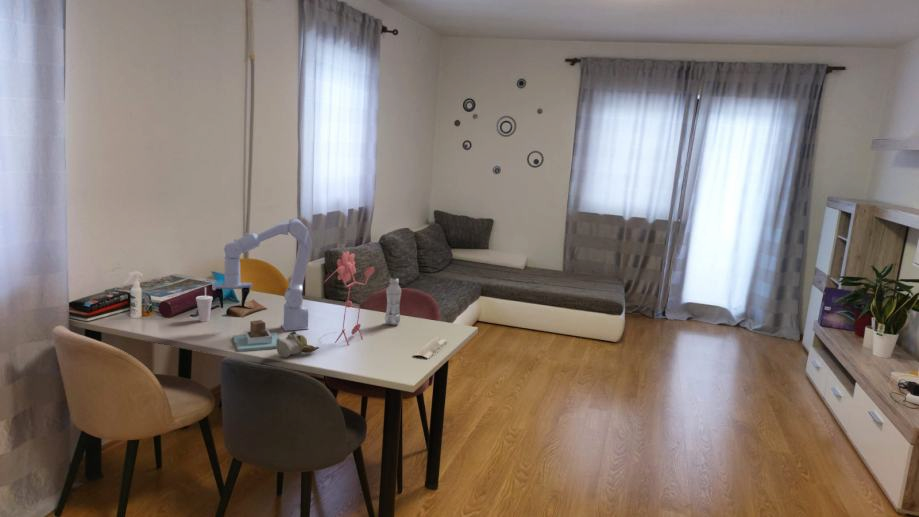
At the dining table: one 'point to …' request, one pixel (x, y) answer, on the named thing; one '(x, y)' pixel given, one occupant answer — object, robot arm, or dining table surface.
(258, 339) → the socket
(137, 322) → the dining table surface
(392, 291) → the plastic bottle
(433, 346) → the newspaper
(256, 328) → the peg
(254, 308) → the sunglasses case
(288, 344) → the ceramic sculpture
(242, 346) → the board
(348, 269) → the figurine
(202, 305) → the smoothie
